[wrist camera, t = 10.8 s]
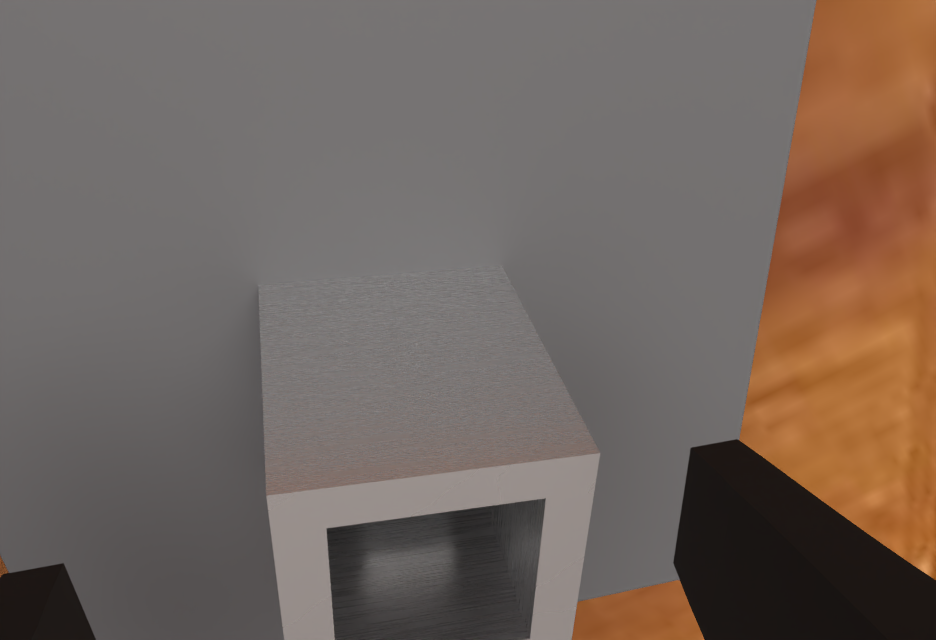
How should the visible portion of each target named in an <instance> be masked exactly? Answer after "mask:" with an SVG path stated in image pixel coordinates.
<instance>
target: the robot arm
mask: <svg viewBox="0 0 936 640" xmlns="http://www.w3.org/2000/svg"><path fill="white" fill-rule="evenodd" d="M673 564H674V566H675V569H676V571H677V574H678V576H679V579H680V581H681V584H682V586H683V589H684V591H685V594H686V596H687V599H688V602H689V604H690V606H691V609H692V611H693V613H694V616H695V618H696V620H697V623H698V625H699V627H700V630H701V632H702V634H703V637H704V639H705V640H936V580H934V579H933V578H931V577H930V576H928V575H927V574H925V573H924V572H922V571H921V570H919V569H918V568H916V567H915V566H913V565H912V564H910V563H909V562H907V561H906V560H904V559H903V558H902V557H900V556H899V555H897V554H896V553H894V552H893V551H891V550H890V549H888V548H887V547H886V546H884V545H883V544H881V543H880V542H879V541H877V540H876V539H874V538H873V537H871V536H870V535H869V534H867V533H866V532H864V531H863V530H861V529H860V528H859V527H857V526H856V525H855V524H853V523H852V522H850V521H849V520H848V519H846V518H845V517H843V516H842V515H841V514H839V513H838V512H836V511H835V510H834V509H832V508H831V507H830V506H828V505H827V504H826V503H824V502H823V501H821V500H820V499H819V498H817V497H816V496H815V495H813V494H812V493H810V492H809V491H808V490H806V489H805V488H804V487H802V486H801V485H800V484H798V483H797V482H796V481H794V480H793V479H791V478H790V477H789V476H787V475H786V474H785V473H783V472H782V471H781V470H779V469H778V468H777V467H775V466H774V465H772V464H771V463H770V462H768V461H767V460H766V459H764V458H763V457H762V456H760V455H759V454H757V453H756V452H755V451H753V450H752V449H750V448H749V447H748V446H746V445H745V444H743V443H742V442H741V441H739V440H738V439H735V440H730V441H724V442H719V443H713V444H708V445H702V446H697V447H692V448H691V449H690V455H689V462H688V468H687V475H686V482H685V488H684V495H683V501H682V508H681V515H680V521H679V528H678V534H677V541H676V548H675V554H674V561H673ZM0 640H96V638H95V636H94V634H93V631H92V629H91V627H90V624H89V622H88V619H87V617H86V615H85V612H84V610H83V608H82V605H81V603H80V601H79V598H78V596H77V593H76V591H75V589H74V586H73V584H72V582H71V579H70V577H69V574H68V572H67V570H66V567H65V565H64V563H62V564H56V565H51V566H45V567H40V568H34V569H29V570H24V571H18V572H13V573H7V574H3V575H2V576H1V577H0Z"/></svg>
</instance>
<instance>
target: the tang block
mask: <svg viewBox="0 0 936 640" xmlns="http://www.w3.org/2000/svg"><path fill="white" fill-rule="evenodd" d="M815 5H816V0H0V556H1V558H2V560H3V562H4V564H5V566H6V568H7V570H8V572H9V573H13V572H18V571H24V570H29V569H34V568H40V567H45V566H51V565H56V564H62V563H64V565H65V567H66V570H67V572H68V574H69V577H70V579H71V582H72V584H73V586H74V589H75V591H76V593H77V596H78V598H79V601H80V603H81V605H82V608H83V610H84V612H85V615H86V617H87V619H88V622H89V624H90V627H91V629H92V631H93V634H94V636H95V638H96V640H284V634H283V626H282V618H281V610H280V602H279V594H278V586H277V578H276V570H275V562H274V554H273V546H272V538H271V530H270V522H269V513H268V505H267V497H266V475H265V448H264V422H263V396H262V369H261V343H260V317H259V290H258V285H266V284H278V283H291V282H304V281H316V280H329V279H342V278H355V277H367V276H380V275H393V274H405V273H418V272H431V271H444V270H456V269H469V268H482V267H495V266H502V267H503V269H504V271H505V273H506V275H507V277H508V279H509V281H510V282H511V284H512V286H513V288H514V290H515V292H516V294H517V296H518V298H519V300H520V301H521V303H522V305H523V307H524V309H525V311H526V313H527V315H528V317H529V319H530V320H531V322H532V324H533V326H534V328H535V330H536V332H537V334H538V336H539V338H540V339H541V341H542V343H543V345H544V347H545V349H546V351H547V353H548V355H549V357H550V359H551V360H552V362H553V364H554V366H555V368H556V370H557V372H558V374H559V376H560V378H561V379H562V381H563V383H564V385H565V387H566V389H567V391H568V393H569V395H570V397H571V398H572V400H573V402H574V404H575V406H576V408H577V410H578V412H579V414H580V416H581V417H582V419H583V421H584V423H585V425H586V427H587V429H588V431H589V433H590V435H591V437H592V438H593V440H594V442H595V444H596V446H597V448H598V450H599V452H600V458H599V465H598V471H597V478H596V484H595V491H594V497H593V504H592V510H591V517H590V523H589V529H588V536H587V542H586V549H585V555H584V562H583V568H582V575H581V581H580V588H579V594H578V601H583V600H587V599H592V598H597V597H601V596H606V595H610V594H615V593H620V592H624V591H629V590H634V589H638V588H643V587H647V586H652V585H657V584H661V583H666V582H671V581H675V580H680V579H679V576H678V574H677V571H676V569H675V566H674V564H673V561H674V554H675V548H676V541H677V534H678V528H679V521H680V515H681V508H682V501H683V495H684V488H685V482H686V475H687V468H688V462H689V455H690V449H691V448H692V447H697V446H702V445H708V444H713V443H719V442H724V441H730V440H735V439H738V440H739V437H740V431H741V426H742V420H743V414H744V408H745V403H746V397H747V391H748V386H749V380H750V374H751V369H752V363H753V357H754V352H755V346H756V340H757V335H758V329H759V323H760V317H761V312H762V306H763V300H764V295H765V289H766V283H767V278H768V272H769V266H770V261H771V255H772V249H773V243H774V238H775V232H776V226H777V221H778V215H779V209H780V204H781V198H782V192H783V187H784V181H785V175H786V170H787V164H788V158H789V152H790V147H791V141H792V135H793V130H794V124H795V118H796V113H797V107H798V101H799V96H800V90H801V84H802V79H803V73H804V67H805V61H806V56H807V50H808V44H809V39H810V33H811V27H812V22H813V16H814V10H815ZM578 601H577V602H578Z"/></svg>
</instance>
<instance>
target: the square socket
mask: <svg viewBox="0 0 936 640" xmlns="http://www.w3.org/2000/svg"><path fill="white" fill-rule="evenodd" d="M258 290H259V317H260V343H261V369H262V396H263V422H264V448H265V475H266V497H267V505H268V513H269V522H270V530H271V538H272V546H273V554H274V562H275V570H276V578H277V586H278V594H279V602H280V610H281V618H282V626H283V634H284V640H572V633H573V627H574V620H575V614H576V607H577V601H578V594H579V588H580V581H581V575H582V568H583V562H584V555H585V549H586V542H587V536H588V529H589V523H590V517H591V510H592V504H593V497H594V491H595V484H596V478H597V471H598V465H599V458H600V452H599V450H598V448H597V446H596V444H595V442H594V440H593V438H592V437H591V435H590V433H589V431H588V429H587V427H586V425H585V423H584V421H583V419H582V417H581V416H580V414H579V412H578V410H577V408H576V406H575V404H574V402H573V400H572V398H571V397H570V395H569V393H568V391H567V389H566V387H565V385H564V383H563V381H562V379H561V378H560V376H559V374H558V372H557V370H556V368H555V366H554V364H553V362H552V360H551V359H550V357H549V355H548V353H547V351H546V349H545V347H544V345H543V343H542V341H541V339H540V338H539V336H538V334H537V332H536V330H535V328H534V326H533V324H532V322H531V320H530V319H529V317H528V315H527V313H526V311H525V309H524V307H523V305H522V303H521V301H520V300H519V298H518V296H517V294H516V292H515V290H514V288H513V286H512V284H511V282H510V281H509V279H508V277H507V275H506V273H505V271H504V269H503V267H502V266H495V267H482V268H469V269H456V270H444V271H431V272H418V273H405V274H393V275H380V276H367V277H355V278H342V279H329V280H316V281H304V282H291V283H278V284H266V285H258Z"/></svg>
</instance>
